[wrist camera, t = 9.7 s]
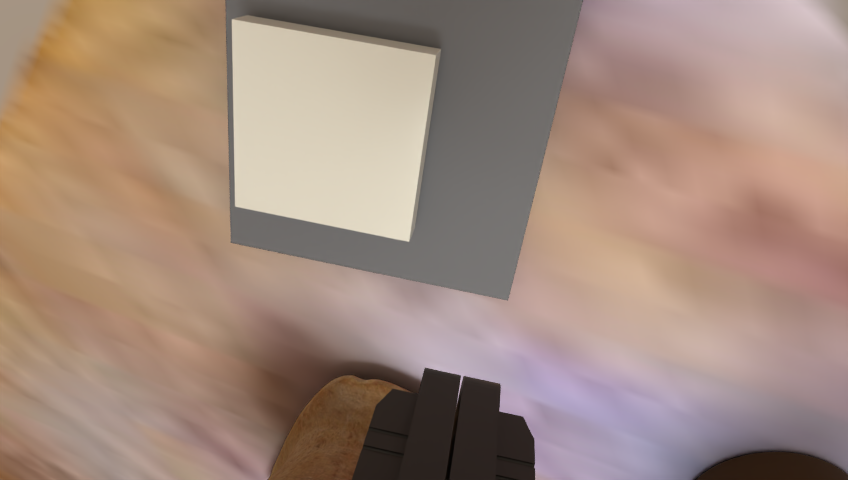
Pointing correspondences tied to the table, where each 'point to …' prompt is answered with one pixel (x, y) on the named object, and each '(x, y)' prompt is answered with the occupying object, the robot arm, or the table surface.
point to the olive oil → (774, 468)
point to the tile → (330, 125)
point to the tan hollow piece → (331, 431)
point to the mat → (442, 135)
